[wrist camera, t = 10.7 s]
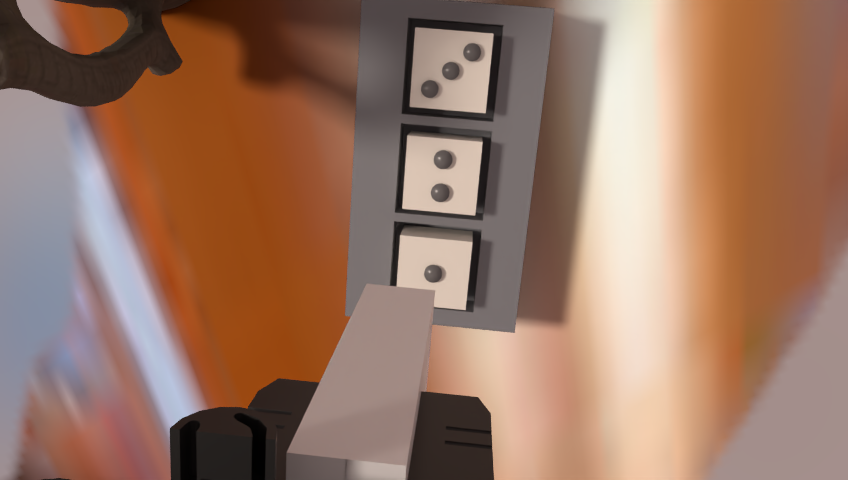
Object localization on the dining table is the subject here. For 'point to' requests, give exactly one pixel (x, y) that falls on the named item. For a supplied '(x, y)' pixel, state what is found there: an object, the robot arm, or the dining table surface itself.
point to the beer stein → (86, 74)
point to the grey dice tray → (499, 128)
